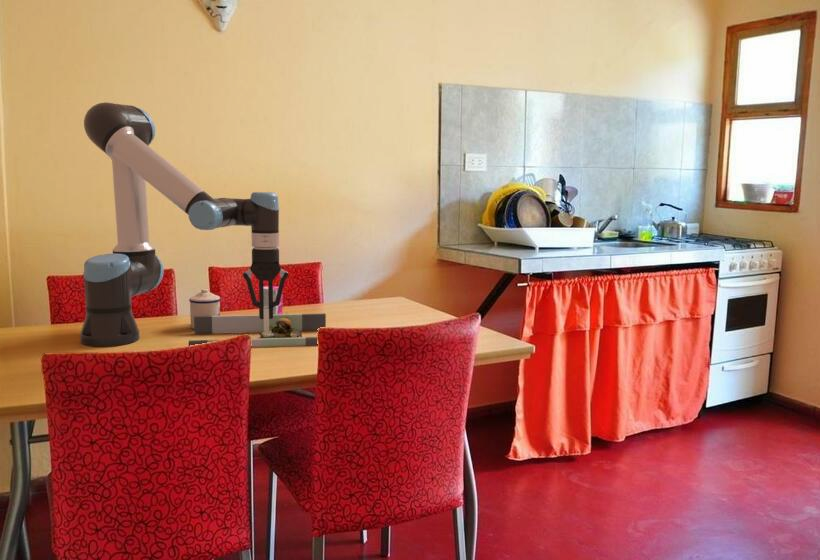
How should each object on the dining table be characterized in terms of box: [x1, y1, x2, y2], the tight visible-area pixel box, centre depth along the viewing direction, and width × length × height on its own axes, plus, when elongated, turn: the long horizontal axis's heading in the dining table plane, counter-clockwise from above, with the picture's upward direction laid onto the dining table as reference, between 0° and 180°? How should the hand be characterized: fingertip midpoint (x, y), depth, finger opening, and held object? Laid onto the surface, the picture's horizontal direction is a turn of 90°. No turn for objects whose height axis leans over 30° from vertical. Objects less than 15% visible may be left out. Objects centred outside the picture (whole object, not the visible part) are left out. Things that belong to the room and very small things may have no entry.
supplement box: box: [263, 285, 284, 315], centre depth 224 cm, size 6×6×12 cm
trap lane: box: [188, 312, 327, 348], centre depth 204 cm, size 38×18×5 cm, turn 102°
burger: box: [259, 315, 303, 338], centre depth 205 cm, size 12×12×8 cm
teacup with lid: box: [188, 288, 221, 330], centre depth 218 cm, size 12×9×12 cm
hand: (266, 329), depth 205 cm, fingers closed
